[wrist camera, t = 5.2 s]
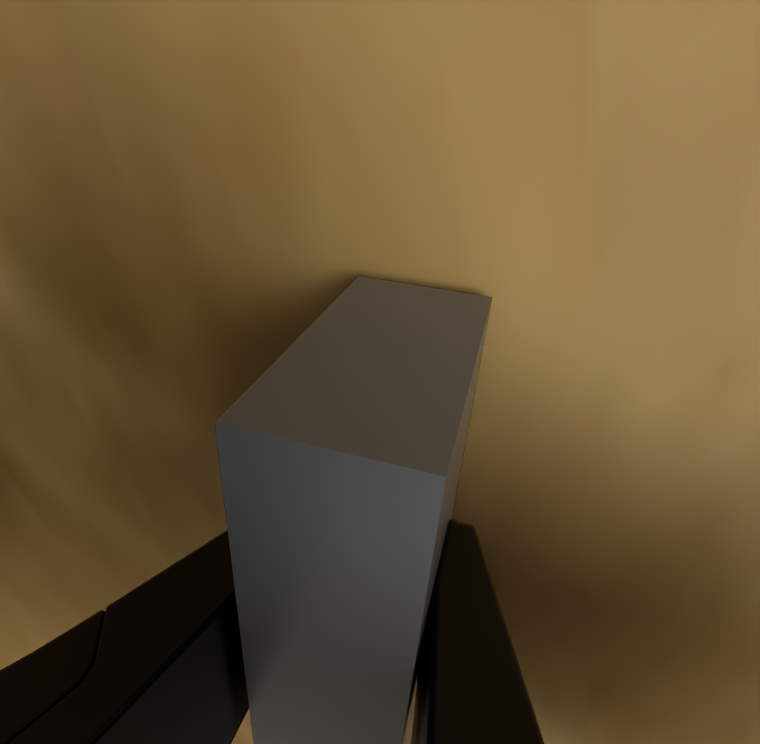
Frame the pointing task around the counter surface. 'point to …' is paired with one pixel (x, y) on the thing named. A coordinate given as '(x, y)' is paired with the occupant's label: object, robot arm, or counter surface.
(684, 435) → the counter surface
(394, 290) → the grey t-shaped bar
